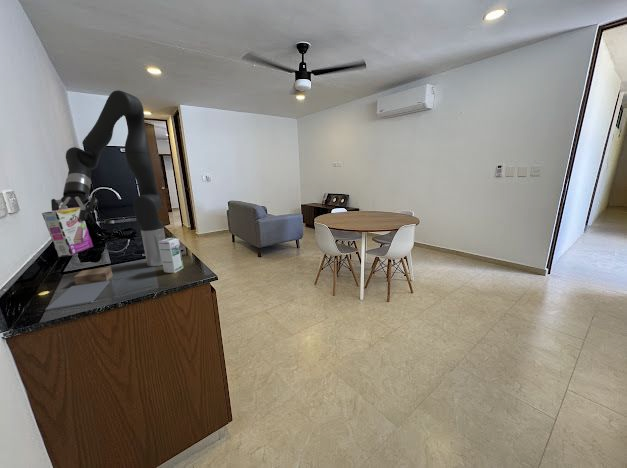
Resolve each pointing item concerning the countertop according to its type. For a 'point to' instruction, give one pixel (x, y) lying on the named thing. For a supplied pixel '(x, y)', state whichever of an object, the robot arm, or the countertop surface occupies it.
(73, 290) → the mat
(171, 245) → the syrup box
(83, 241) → the candy bar box
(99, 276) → the walnut step
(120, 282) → the countertop surface
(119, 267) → the countertop surface
